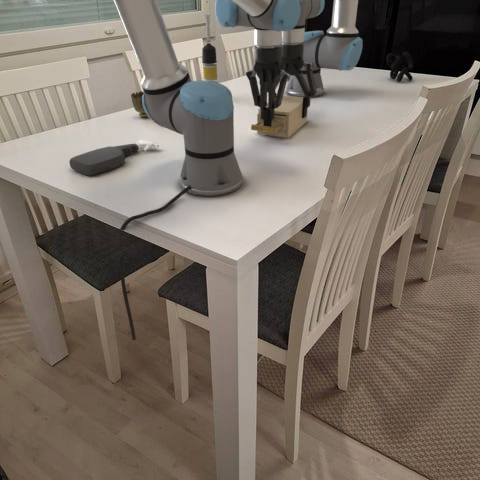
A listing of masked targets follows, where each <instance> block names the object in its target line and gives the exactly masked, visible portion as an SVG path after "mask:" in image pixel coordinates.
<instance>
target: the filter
mask: <svg viewBox="0 0 480 480" xmlns="http://www.w3.org/2000/svg"><path fill="white" fill-rule="evenodd" d="M210 17H211V14H204V18H205V27H206V29H205V30H206V31H205V33H206V39H207V40H206V42H207V43H206V45H204V46H202V49H201V50H202V51H201V52H202V54H201V55H202V57H201V58H202V61H201V63H202V71H203V72H202V73H203V74H202V75H203V81H208V82H217V83H219V82H218V81H216V80H218V64H216V63H218V61H217V48H216V47H215V46H214V45H212V43H210V42H211V40H210V39H211V31H210V29H211V28H210Z"/></svg>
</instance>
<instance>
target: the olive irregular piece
mask: <svg viewBox="0 0 480 480" xmlns="http://www.w3.org/2000/svg"><path fill="white" fill-rule="evenodd" d="M143 94H144V92H143V91H142V90H140V91H138V92H137V91H135V92H133V93H131V94H130V98H131V103H132V106H133V109H134V111H136V112H137V113H138V116H139V117H140V118H147V117H148V115H147V114H146V112H145V110H144V108H143V103H142V96H143ZM148 118H149V117H148Z"/></svg>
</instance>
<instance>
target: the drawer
mask: <svg viewBox="0 0 480 480" xmlns="http://www.w3.org/2000/svg"><path fill="white" fill-rule="evenodd" d="M256 117H257V119H256V121H257V122H256V123H255V124H253V123H252V124H251V126H250V130H251V131H256V134H257V135H262V134H266V135H265V136H269V135H273V136H272V137H276V136H280V137H279V138H283V137H285V132H286V115H280V114H274V119H273V120H272V122H271V127H270V126H263V119H261V113H259V114H258V113H257V115H256Z"/></svg>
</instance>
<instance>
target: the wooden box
mask: <svg viewBox="0 0 480 480" xmlns="http://www.w3.org/2000/svg"><path fill="white" fill-rule="evenodd" d="M275 100H276V98H275ZM267 104H268V102H267ZM302 106H303V97H295V96H290V95H283V99H282V102H281V105H280V106H279V107H278V108H275V112H274V114H280V115H286V132H285V137H282V138H284V139H289V138H290V137H292V136H293V134H294V133H296V132H297V131H298V130H300V129H301V128H302V126H304V125H305V124H306V123H307V122H308V115H307V116H306V117H305V118H302ZM267 107H268V106H266V108H267ZM257 110H258V113H257V114H259V113H261V109H260V107H259V108H258V109H257ZM308 110H309V107H308V108H307V114H308V112H309V111H308ZM261 135H263V136H267V135H266V134H261ZM268 136H270V137H274V136H273V135H268ZM275 137H277V138H281V137H280V136H275Z"/></svg>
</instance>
